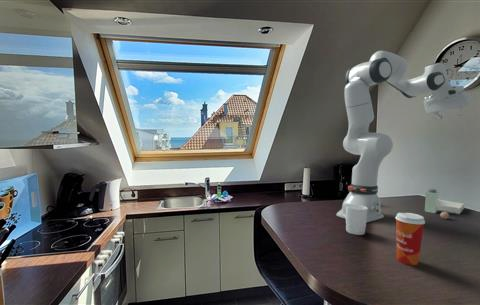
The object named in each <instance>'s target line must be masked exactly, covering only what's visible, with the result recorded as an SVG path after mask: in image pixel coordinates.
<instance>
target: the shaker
mask: <svg viewBox="0 0 480 305" xmlns="http://www.w3.org/2000/svg"><path fill="white" fill-rule="evenodd" d="M439 194H440V193H439V191H437V189H435V188H433V189H432V188H428V189H427V191H425V201H424V212H426V213H431V214H436V213H437V212H438V210H437V206H438V200H439Z"/></svg>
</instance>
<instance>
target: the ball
mask: <svg viewBox="0 0 480 305" xmlns="http://www.w3.org/2000/svg"><path fill="white" fill-rule="evenodd" d="M449 214H450V213H449V212H444V211H441V213H440V218H442V219H443V220H447V219H449V217H450V215H449Z"/></svg>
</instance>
